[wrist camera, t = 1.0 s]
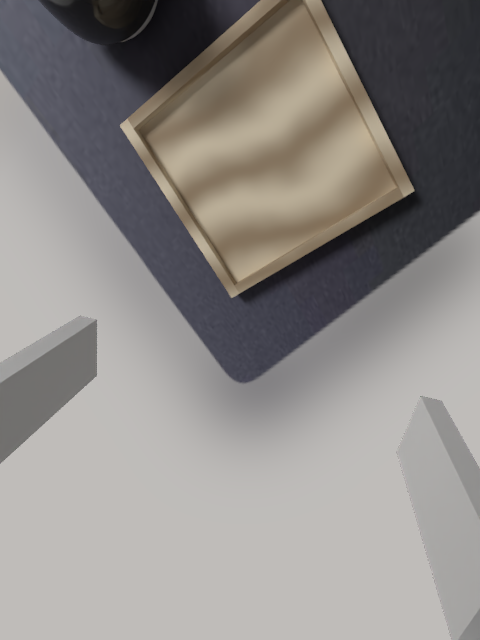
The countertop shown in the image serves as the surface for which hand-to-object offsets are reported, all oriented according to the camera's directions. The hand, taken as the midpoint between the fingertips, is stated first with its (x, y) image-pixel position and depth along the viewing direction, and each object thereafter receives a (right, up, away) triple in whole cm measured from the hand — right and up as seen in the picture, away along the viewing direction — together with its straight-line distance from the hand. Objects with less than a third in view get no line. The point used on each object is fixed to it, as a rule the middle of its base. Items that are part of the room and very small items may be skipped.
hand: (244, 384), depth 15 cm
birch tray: (+2, +18, +21) cm, 28 cm away
